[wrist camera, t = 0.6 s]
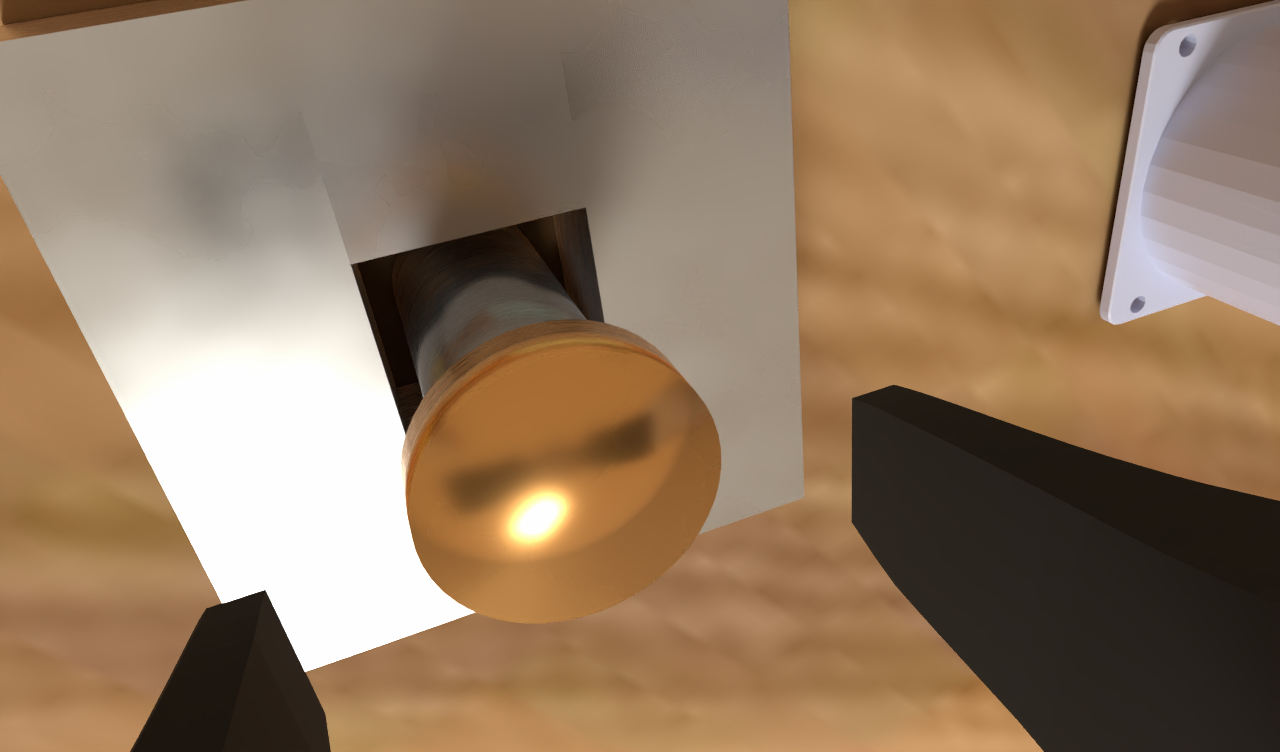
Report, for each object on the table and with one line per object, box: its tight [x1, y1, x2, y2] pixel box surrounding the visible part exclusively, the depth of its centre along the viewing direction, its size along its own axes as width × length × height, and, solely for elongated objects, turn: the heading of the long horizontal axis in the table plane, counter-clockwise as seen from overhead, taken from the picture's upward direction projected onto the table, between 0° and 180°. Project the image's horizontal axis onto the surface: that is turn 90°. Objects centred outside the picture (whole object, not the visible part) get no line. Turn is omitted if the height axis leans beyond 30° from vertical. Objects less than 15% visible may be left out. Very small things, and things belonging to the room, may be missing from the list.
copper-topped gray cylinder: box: [392, 225, 721, 623], centre depth 15 cm, size 4×4×8 cm
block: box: [0, 0, 804, 671], centre depth 17 cm, size 12×12×3 cm
